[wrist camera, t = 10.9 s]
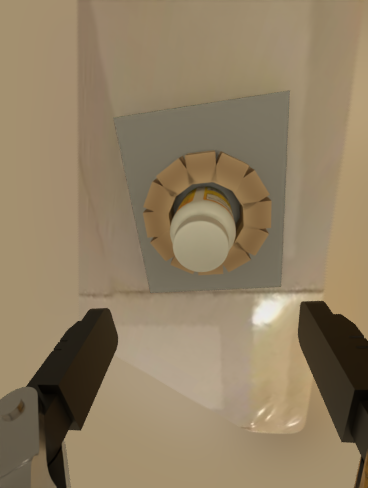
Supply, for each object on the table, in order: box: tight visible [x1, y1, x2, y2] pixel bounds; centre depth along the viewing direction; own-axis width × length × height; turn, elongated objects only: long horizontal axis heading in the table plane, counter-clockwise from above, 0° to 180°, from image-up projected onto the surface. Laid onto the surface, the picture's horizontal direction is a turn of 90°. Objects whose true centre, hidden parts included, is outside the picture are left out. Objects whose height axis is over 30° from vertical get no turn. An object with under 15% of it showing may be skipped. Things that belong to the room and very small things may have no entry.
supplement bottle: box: [170, 186, 236, 272], centre depth 21 cm, size 5×5×10 cm
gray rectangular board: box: [113, 91, 290, 293], centre depth 26 cm, size 20×16×2 cm
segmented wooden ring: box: [143, 150, 272, 275], centre depth 24 cm, size 12×12×3 cm
